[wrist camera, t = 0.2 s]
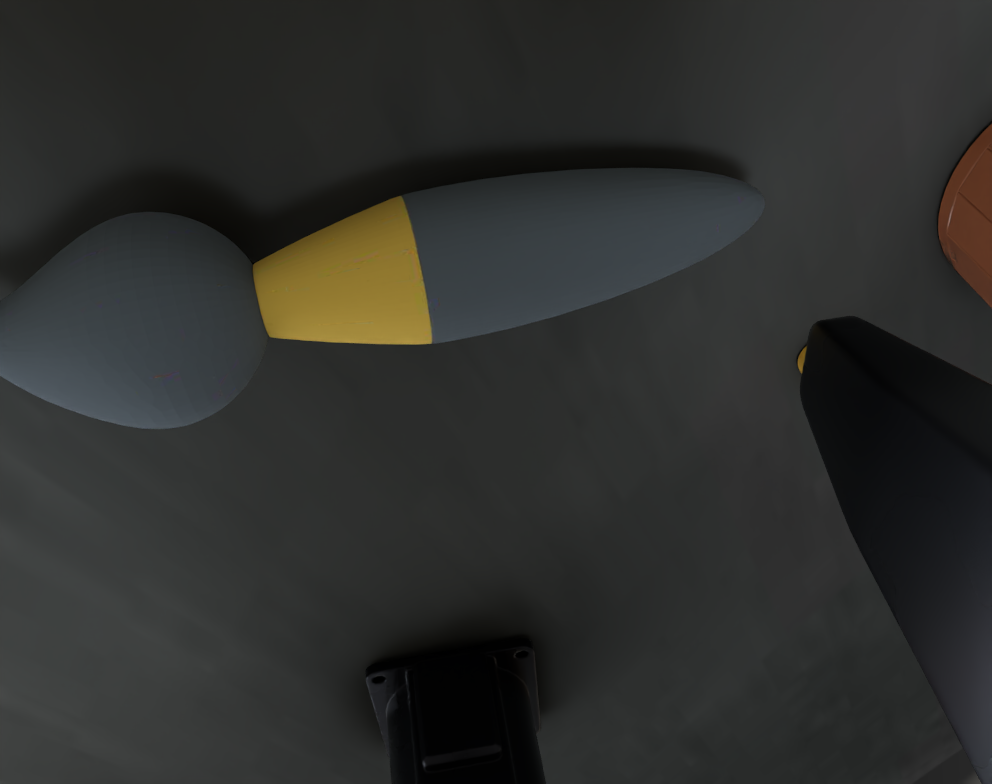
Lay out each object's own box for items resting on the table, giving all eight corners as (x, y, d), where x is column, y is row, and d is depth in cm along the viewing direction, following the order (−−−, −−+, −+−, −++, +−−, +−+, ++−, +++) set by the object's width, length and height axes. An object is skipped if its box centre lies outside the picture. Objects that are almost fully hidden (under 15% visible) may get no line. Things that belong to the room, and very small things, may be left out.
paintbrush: (749, 39, 23) (836, 131, 19) (746, 218, 26) (820, 327, 22) (-67, 219, 23) (-143, 347, 19) (33, 376, 26) (-13, 512, 22)
